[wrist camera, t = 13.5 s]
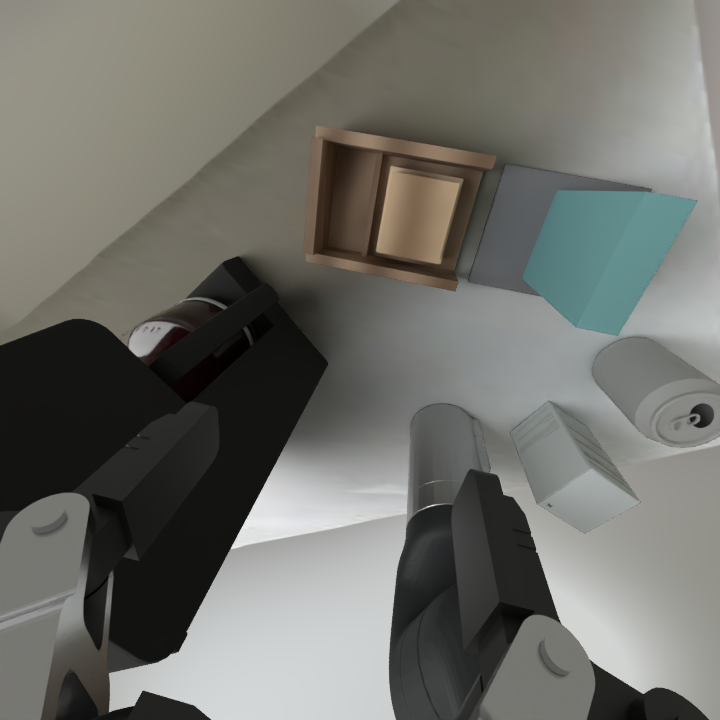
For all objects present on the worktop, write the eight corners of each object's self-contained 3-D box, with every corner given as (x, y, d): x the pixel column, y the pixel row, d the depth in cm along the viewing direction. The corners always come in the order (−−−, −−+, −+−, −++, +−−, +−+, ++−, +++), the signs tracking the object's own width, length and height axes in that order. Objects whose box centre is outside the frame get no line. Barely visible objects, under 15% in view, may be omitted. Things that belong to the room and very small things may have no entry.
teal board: (587, 195, 33) (697, 200, 20) (548, 283, 37) (617, 335, 24) (556, 190, 33) (646, 191, 20) (521, 278, 37) (575, 327, 24)
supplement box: (546, 457, 49) (583, 536, 38) (508, 431, 48) (534, 504, 37) (590, 427, 45) (644, 504, 34) (549, 398, 44) (592, 468, 33)
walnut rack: (485, 161, 33) (499, 154, 27) (450, 277, 39) (456, 294, 33) (332, 134, 35) (312, 123, 28) (320, 251, 40) (302, 263, 34)
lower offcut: (460, 179, 34) (463, 178, 31) (439, 258, 37) (440, 264, 35) (393, 167, 34) (390, 166, 32) (379, 247, 38) (375, 251, 35)
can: (663, 376, 40) (748, 443, 30) (595, 395, 43) (651, 462, 33) (654, 324, 38) (743, 376, 27) (582, 347, 40) (638, 403, 30)
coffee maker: (255, 231, 40) (-260, 365, 10) (351, 350, 46) (213, 677, 15) (137, 345, 52) (-275, 574, 21) (226, 430, 57) (1, 712, 26)
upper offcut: (456, 183, 31) (460, 183, 29) (437, 258, 35) (438, 264, 32) (394, 172, 32) (392, 171, 29) (381, 247, 35) (377, 252, 32)
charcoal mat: (648, 189, 32) (652, 189, 32) (588, 304, 38) (591, 306, 38) (504, 164, 33) (506, 164, 33) (467, 280, 39) (468, 282, 39)
